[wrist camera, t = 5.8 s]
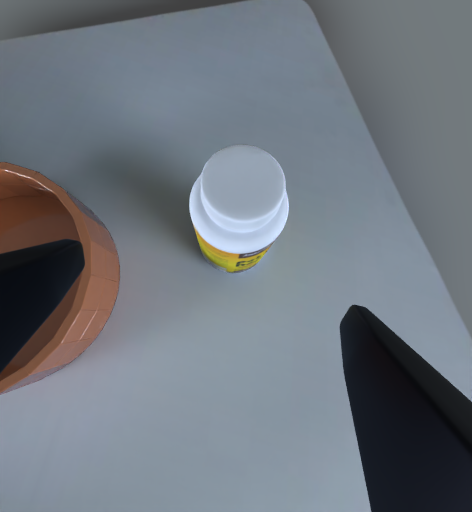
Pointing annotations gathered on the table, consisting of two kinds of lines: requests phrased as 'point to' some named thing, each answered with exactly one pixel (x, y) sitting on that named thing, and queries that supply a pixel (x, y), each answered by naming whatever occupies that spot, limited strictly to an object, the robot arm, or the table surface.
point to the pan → (84, 288)
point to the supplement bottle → (238, 207)
